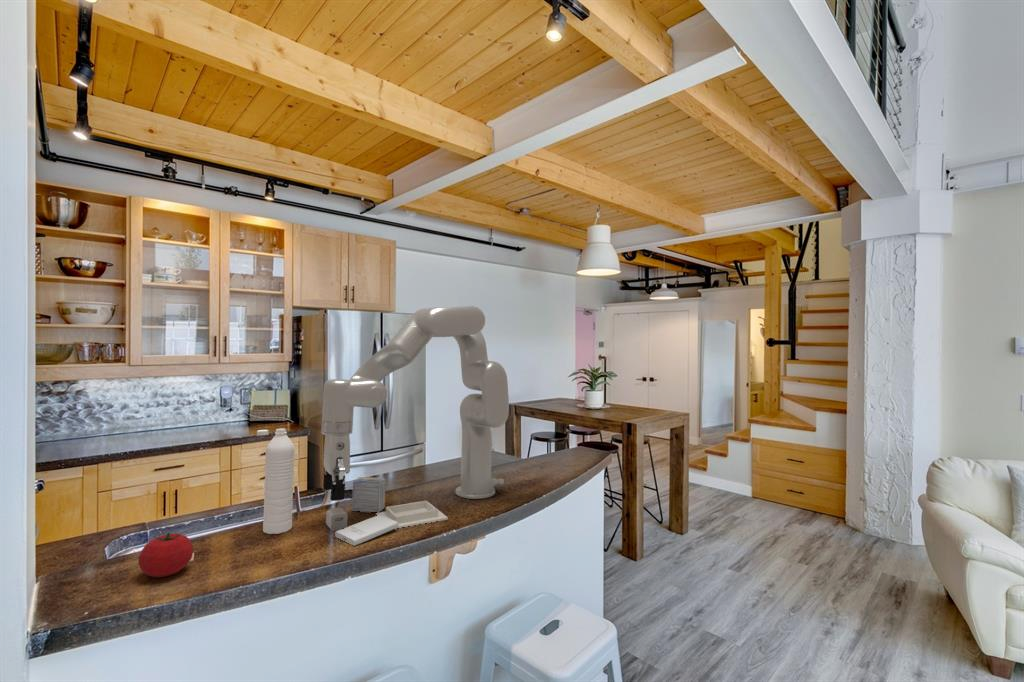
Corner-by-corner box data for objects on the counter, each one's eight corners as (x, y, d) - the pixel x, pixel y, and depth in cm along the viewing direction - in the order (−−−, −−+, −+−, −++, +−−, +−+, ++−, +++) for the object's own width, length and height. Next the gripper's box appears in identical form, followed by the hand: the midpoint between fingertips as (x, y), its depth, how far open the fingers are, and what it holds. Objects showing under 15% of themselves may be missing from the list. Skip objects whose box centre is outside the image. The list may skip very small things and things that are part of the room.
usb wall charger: (330, 531, 116) (331, 515, 116) (323, 522, 121) (323, 507, 121) (346, 528, 118) (347, 512, 118) (338, 519, 124) (339, 504, 124)
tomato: (197, 560, 98) (198, 522, 98) (186, 580, 90) (188, 538, 90) (146, 567, 95) (147, 527, 95) (130, 588, 87) (132, 544, 87)
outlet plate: (431, 506, 135) (431, 497, 136) (447, 519, 125) (447, 510, 125) (375, 515, 127) (376, 506, 127) (388, 530, 117) (389, 520, 117)
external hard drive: (398, 528, 117) (354, 546, 107) (378, 520, 122) (335, 537, 112) (398, 522, 117) (354, 539, 107) (378, 514, 122) (334, 530, 112)
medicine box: (385, 508, 133) (385, 477, 133) (379, 513, 128) (380, 482, 129) (358, 506, 134) (359, 476, 134) (351, 512, 129) (352, 480, 129)
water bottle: (286, 522, 120) (289, 425, 121) (296, 529, 116) (299, 429, 116) (249, 531, 114) (252, 429, 114) (258, 539, 110) (261, 432, 110)
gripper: (360, 432, 115) (356, 502, 114) (345, 422, 129) (341, 484, 129) (328, 433, 111) (323, 506, 110) (316, 423, 125) (312, 487, 125)
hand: (333, 494), depth 119 cm, fingers open, 9 cm apart
